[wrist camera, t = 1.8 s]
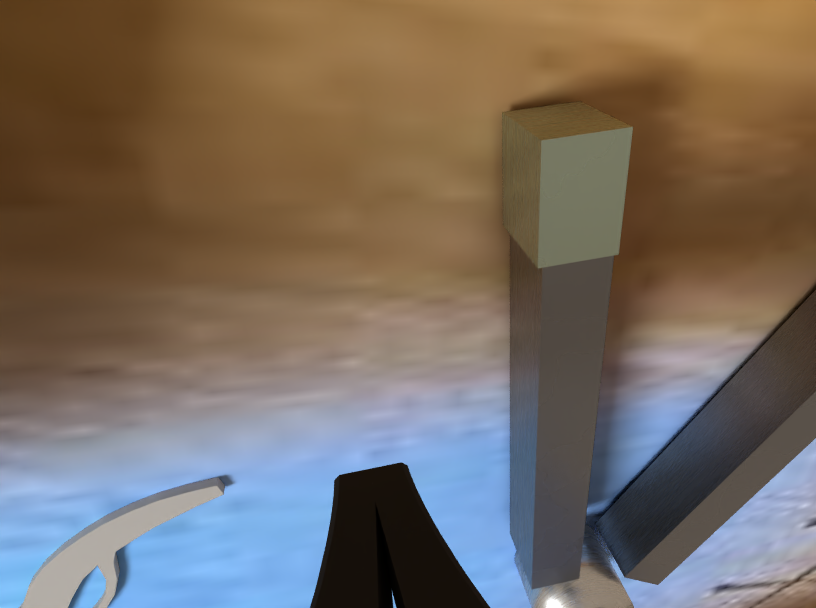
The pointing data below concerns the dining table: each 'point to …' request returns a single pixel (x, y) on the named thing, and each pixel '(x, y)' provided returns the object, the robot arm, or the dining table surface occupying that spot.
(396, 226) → the dining table surface
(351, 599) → the robot arm
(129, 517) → the pliers
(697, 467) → the tongs frame
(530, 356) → the arm
